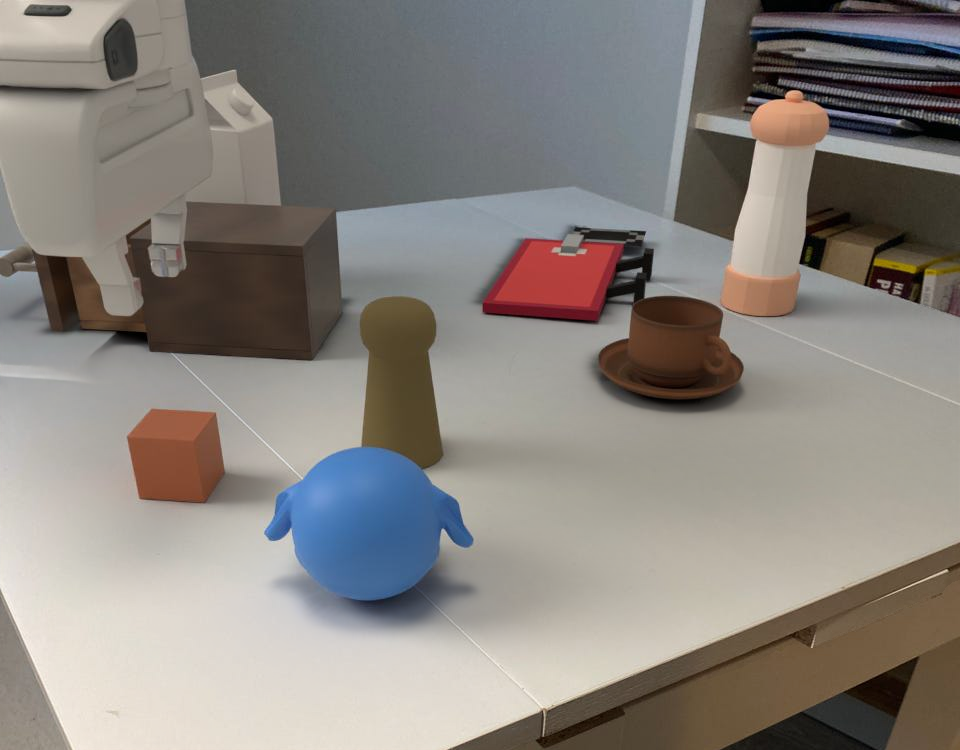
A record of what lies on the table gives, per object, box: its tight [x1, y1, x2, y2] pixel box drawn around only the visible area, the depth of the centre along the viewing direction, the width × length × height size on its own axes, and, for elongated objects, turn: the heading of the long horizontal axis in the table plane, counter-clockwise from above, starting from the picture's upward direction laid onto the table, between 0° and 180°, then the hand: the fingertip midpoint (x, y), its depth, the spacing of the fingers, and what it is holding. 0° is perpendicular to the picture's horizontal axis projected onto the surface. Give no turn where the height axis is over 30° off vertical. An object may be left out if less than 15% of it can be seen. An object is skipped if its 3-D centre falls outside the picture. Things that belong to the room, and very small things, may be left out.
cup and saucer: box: [597, 295, 745, 400], centre depth 83 cm, size 12×12×6 cm
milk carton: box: [185, 69, 282, 206], centre depth 99 cm, size 7×7×19 cm
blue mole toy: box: [263, 446, 475, 601], centre depth 58 cm, size 12×12×8 cm
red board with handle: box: [481, 226, 655, 322], centre depth 108 cm, size 30×3×15 cm
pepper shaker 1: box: [359, 295, 444, 470], centre depth 70 cm, size 6×6×11 cm
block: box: [126, 408, 226, 504], centre depth 68 cm, size 4×4×4 cm
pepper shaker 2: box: [720, 90, 830, 317], centre depth 96 cm, size 7×7×19 cm
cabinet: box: [129, 202, 343, 361], centre depth 90 cm, size 15×13×10 cm
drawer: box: [0, 218, 151, 333], centre depth 91 cm, size 18×11×8 cm, turn 84°
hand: (149, 292), depth 61 cm, fingers open, 6 cm apart
